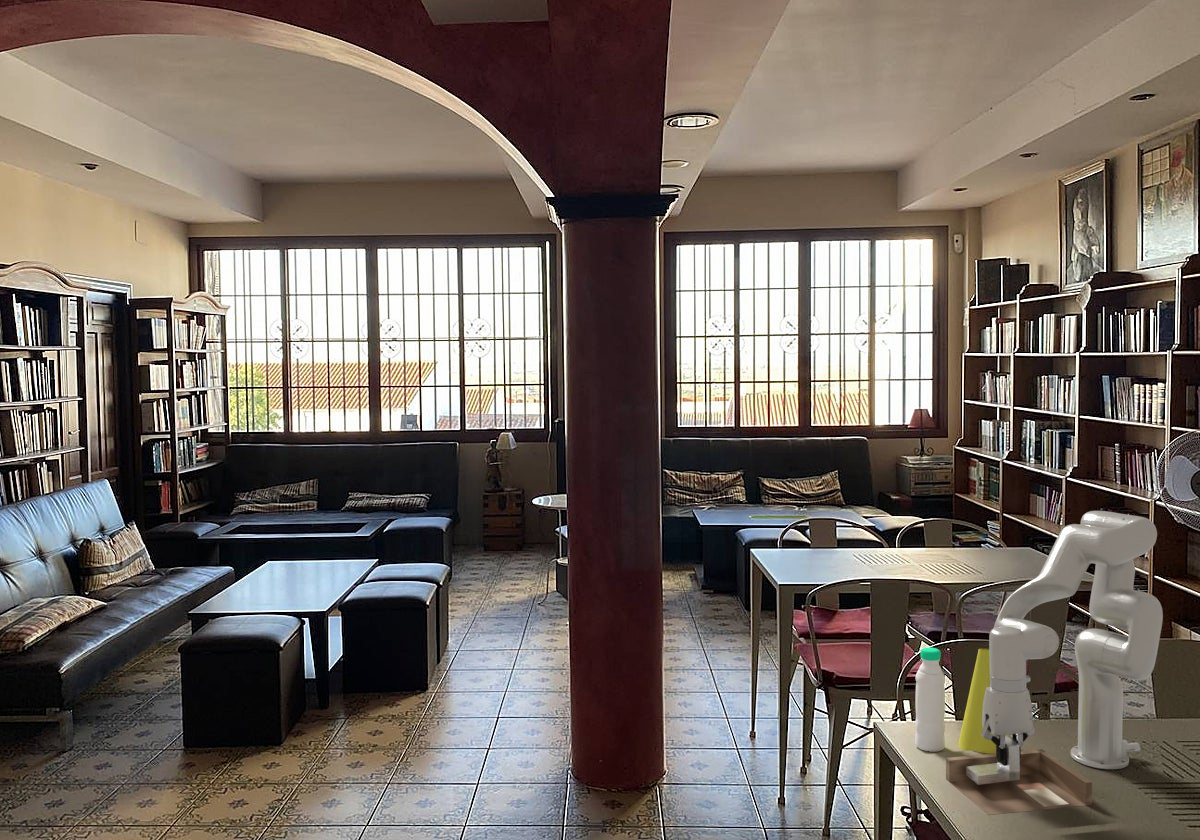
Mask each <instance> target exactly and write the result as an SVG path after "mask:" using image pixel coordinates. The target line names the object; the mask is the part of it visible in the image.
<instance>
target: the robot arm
mask: <svg viewBox="0 0 1200 840" xmlns="http://www.w3.org/2000/svg"><path fill="white" fill-rule="evenodd" d="M1157 537H1158V531H1157V528H1156V525H1155V524H1154V522H1153V521H1151V520H1150V519H1149V518H1147V517H1145V516H1139V515H1134V514H1133V515H1132V514H1124V513H1120V512H1119V513H1118V512H1113V511H1106V510H1105V511H1104V510H1090V511H1087V512H1086V513H1084V514H1083V515H1082V517H1081V519H1080V524H1077V523H1072V524H1067V525H1065V526H1064V527H1063V528H1062V529H1061V530H1060V532H1059V534H1058V535H1057V538H1056V539H1055V542H1054V544H1053V545H1052V548H1051V550H1050V551H1049V554H1048V556H1047V559H1046V560H1045V563H1044V564H1043V566H1042V568H1041V570H1040V572H1039V574H1038V576H1036V577H1035V578H1033V579H1031V580H1030V581H1028V582H1027V583H1025V584H1023V585H1022V586H1021V587H1019V588H1018V589H1016V590H1015V591H1013V592H1012V593H1011V594H1010V595H1009V596H1008V598H1007V599H1006V600H1005V602H1003V605H1002V607H1001V609H1000V610H999V612H998V615H997V616H996V619H995V622H994V626H993V628H991V630H990V631H989V635H988V636H989V637H988V638H989V639H988V640H989V641H988V643H989V645H988V646H989V648H988V649H989V653H990V687H987V688H986V691H985V695H984V701H983V711H982V726H983V731H982V733H981V736H982V737H983V738H985V739H987V740H990V741H992V742H993V743H994V744H995V745H996V753H995V754H996V758H997V760H998V762H1000V763H1001V764H1002V765H1004V766H1007V749H1006V748H1005V735H1008V736H1010V737H1011V738H1010V739H1011V740H1013V741H1014V742H1016V743H1017V744H1019V756H1020V758H1021V751H1022V750H1021V748H1022V747H1023V746H1024V742H1025V741H1026V739H1028V737H1030V736H1032V735H1033V734H1035V733H1036V729H1035V727H1034V724H1033V721H1034V720H1033V718H1034V717H1033V708H1032V707H1033V705H1032V701H1031V695H1030V691H1029V689H1028V688H1027V683H1030V682H1031V676H1030V675H1027V661H1028V660H1041V659H1047V658H1049V657H1051V656H1053V655H1054V654H1055V653H1056V652H1057V650H1058V648H1059V647H1060V638H1059V635H1058V633H1057V631H1055V630H1054V629H1053V628H1052V627H1049V626H1047V625H1044V624H1041V623H1038V622H1034V621H1031V620H1027V619H1024V618H1025V617H1026V615H1027V614H1028V613H1029V612H1030V611H1031V610H1033V609H1034V608H1036V607H1038V606H1040V605H1042V604H1044V603H1048V602H1052V601H1057V600H1061V599H1062V600H1063V599H1066V598H1070V597H1072V596H1074V595H1075V594H1076V592H1077V591H1078V589H1079V586H1080V585H1081V582H1082V580H1083V578H1084V576H1085V574H1086V572H1087V570H1088V568H1089V566H1090V565H1091V564H1094V565H1095V567H1094V568H1095V569H1094V575H1093V581H1092V587H1091V593H1090V599H1089V615H1090V617H1091V618H1092V620H1094V621H1095V622H1097V623H1100V624H1103V625H1107V626H1110V627H1115V628H1118V629H1121V630H1126V631H1128V635H1124V634H1121V633H1117V632H1113V631H1109V630H1107V629H1101V628H1087V629H1084V630H1082V631H1080V632H1079V633H1078V635H1077V636H1076V638H1075V641H1074V653H1075V659H1076V664H1077V670H1078V671H1077V672H1078V715H1077V716H1078V717H1077V718H1078V719H1077V720H1078V721H1077V723H1078V724H1077V745H1075V746H1072V748H1071V749H1070V756H1071V757H1072V759H1073V760H1075V761H1076V762H1078V763H1080V764H1082V765H1085V766H1088V767H1091V768H1095V769H1102V770H1120V769H1124V768H1126V767H1128V766H1129V764H1130V758H1129V756H1128V755H1127V754H1129V752H1139V751H1141V745H1140V743H1139V742H1128V740H1127V739H1124V740H1123V719H1124V717H1123V715H1124V713H1123V711H1124V708H1123V707H1124V689H1123V686H1122V685H1123V684H1122V682H1121V679H1120V677H1121V678H1124V679H1129V680H1131V681H1139V682H1141V681H1144V680H1146V679H1148V678H1149V677H1150V676H1151V675H1152V673H1153V671H1154V668H1155V664H1156V661H1157V655H1158V650H1159V643H1160V638H1161V631H1162V626H1163V619H1164V618H1163V617H1164V615H1163V607H1162V604H1161V602H1160V601H1159V600H1158V598H1157V597H1156V596H1154V595H1153V594H1151V593H1149V592H1144V591H1141V590H1140V591H1139V590H1137V589H1136V590H1135V589H1134V583H1135V582H1134V581H1135V577H1136V574H1135V573H1136V566H1135V562H1134V559H1136V558H1139V557H1140V556H1142V555H1145V554H1147V553H1148V552H1149V551H1151V550H1152V548H1153V547H1154V546H1155V544H1156V541H1157ZM991 732H992V734H993V735H992V734H990V733H991Z"/></svg>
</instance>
